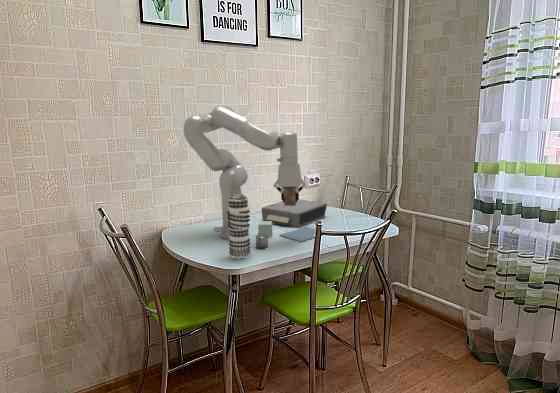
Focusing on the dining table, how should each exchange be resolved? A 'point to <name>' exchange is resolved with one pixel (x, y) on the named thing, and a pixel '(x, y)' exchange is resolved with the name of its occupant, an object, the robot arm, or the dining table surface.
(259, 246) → the grey cylinder
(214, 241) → the dining table surface
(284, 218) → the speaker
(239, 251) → the decorative candle
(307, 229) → the mat
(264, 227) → the sage cube
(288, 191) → the walnut block
